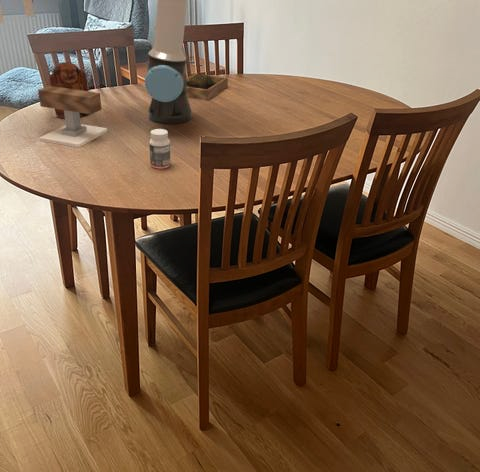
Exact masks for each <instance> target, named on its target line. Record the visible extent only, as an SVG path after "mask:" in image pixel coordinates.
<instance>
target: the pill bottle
mask: <svg viewBox="0 0 480 472" xmlns="http://www.w3.org/2000/svg"><path fill="white" fill-rule="evenodd" d="M150 137H151V138H150V140H149V142H148V143H149V159H150V166H151V167H152V168H153V169H162V170H163V169H167V168H169V167H170V166H171V165H172V159H171V158H172V157H171V140H170V139H169V138H168V137H169V133H168V130H166V129H164V128H155V129H152V130H150Z"/></svg>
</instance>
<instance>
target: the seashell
mask: <svg viewBox="0 0 480 472" xmlns="http://www.w3.org/2000/svg"><path fill="white" fill-rule="evenodd" d="M195 74H196V75H195V76H193V77H191V78H189V79H187V78H186V87H192V88H200V89H209V88H210V87H212V86H213V85H215V82H214V81H213V80H212V79H211V78H210V77H209V76H210V75H209V76H207V75H208V74H205V73H195Z"/></svg>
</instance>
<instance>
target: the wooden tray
mask: <svg viewBox="0 0 480 472" xmlns="http://www.w3.org/2000/svg"><path fill="white" fill-rule="evenodd" d="M196 74H197V73H194V74H192V75H191V76H188V77H186V79H189V78H191V77H193V76H195V75H196ZM206 75H207V76H209V77H210V78H211V79H212V80H213V81H214V82H215V85H213V86H212V87H210V88H209V89H200V88H192V87H186V93H187V98H188V99H194V100H195V99H196V100H200V101H202V100H203V101H207V102H208V101H210V100H212V99H213V98H214V97H216V96H217V95H218V94H220V93H221V92H223V91H225V90H226V89H227V88H228V80H229V78H228V77H224V76H216V75H209V74H206Z"/></svg>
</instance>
